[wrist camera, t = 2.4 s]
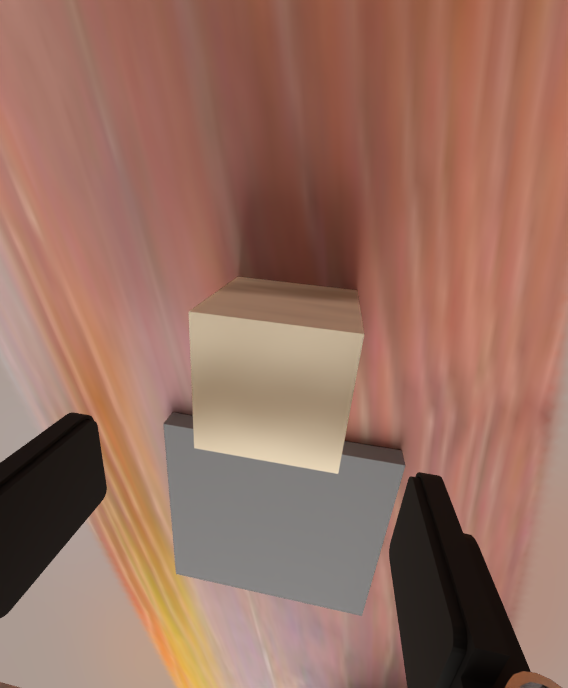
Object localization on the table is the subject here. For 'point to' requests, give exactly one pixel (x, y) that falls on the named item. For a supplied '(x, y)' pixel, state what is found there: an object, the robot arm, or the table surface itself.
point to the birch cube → (275, 371)
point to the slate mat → (280, 520)
